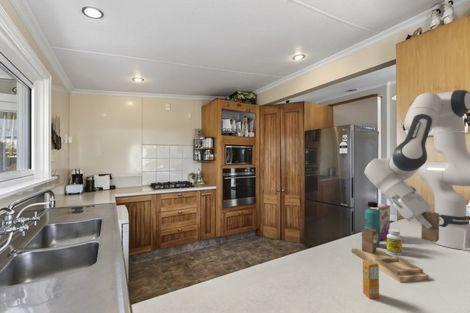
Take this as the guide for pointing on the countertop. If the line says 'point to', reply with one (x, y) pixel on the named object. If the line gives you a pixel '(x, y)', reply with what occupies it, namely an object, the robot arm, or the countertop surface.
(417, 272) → the wooden tray stand
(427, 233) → the brown block
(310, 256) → the countertop surface
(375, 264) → the supplement box
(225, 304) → the countertop surface
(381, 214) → the candy bar box
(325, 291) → the countertop surface
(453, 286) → the countertop surface
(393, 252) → the supplement bottle
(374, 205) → the beverage bottle
